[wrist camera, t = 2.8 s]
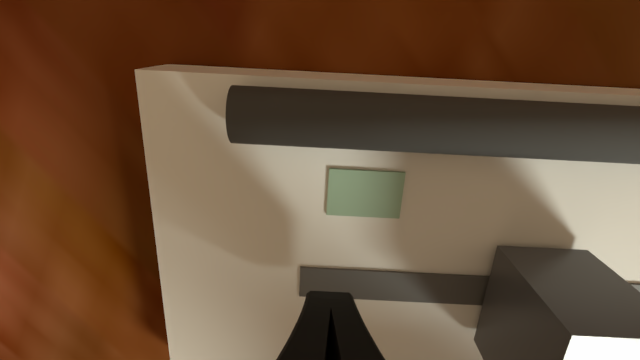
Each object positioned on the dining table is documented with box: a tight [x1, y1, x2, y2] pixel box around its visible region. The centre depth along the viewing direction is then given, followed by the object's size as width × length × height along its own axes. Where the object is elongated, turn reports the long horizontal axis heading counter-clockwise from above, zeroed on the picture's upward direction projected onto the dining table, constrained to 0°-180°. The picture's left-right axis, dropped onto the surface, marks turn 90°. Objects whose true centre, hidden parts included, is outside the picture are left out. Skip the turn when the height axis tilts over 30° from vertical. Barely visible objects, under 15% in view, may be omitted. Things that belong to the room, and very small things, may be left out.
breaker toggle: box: [474, 245, 640, 360], centre depth 11 cm, size 4×3×4 cm
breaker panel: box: [134, 64, 640, 360], centre depth 14 cm, size 14×26×3 cm, turn 87°
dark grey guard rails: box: [226, 85, 640, 164], centre depth 13 cm, size 14×20×2 cm
